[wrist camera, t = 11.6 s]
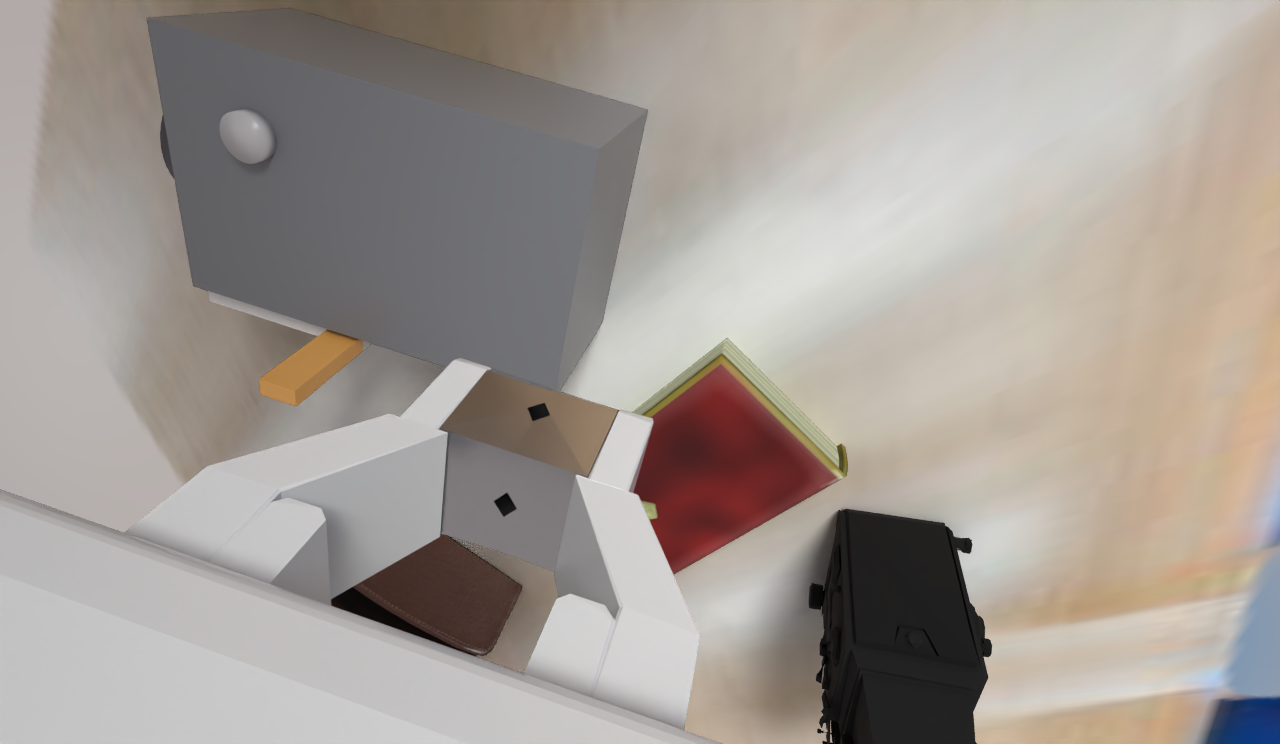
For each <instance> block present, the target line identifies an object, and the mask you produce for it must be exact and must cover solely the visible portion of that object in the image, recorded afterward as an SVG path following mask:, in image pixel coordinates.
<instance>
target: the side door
mask: <svg viewBox="0 0 1280 744" xmlns="http://www.w3.org/2000/svg"><path fill="white" fill-rule="evenodd" d="M208 295H209V301H210V302H213V303H216V304H219V305H222V306H225V307H228V308H232V309H235V310H238V311H241V312H244V313H247V314H250V315H253V316H256V317H259V318H263V319H266V320H269V321H272V322H275V323H278V324H281V325H284V326H287V327H290V328H294V329H297V330H300V331H303V332H306V333H309V334H312V335H315V336H317V337H316V338H315V339H313V340H312V341H310V342H309V343H308V344H306V345H305V346H304V347H302V348H301V349H299V350H298V351H297V352H295V353H294V354H293V355H291V356H290V357H288V358H287V359H286V360H284V361H283V362H282V363H280V364H279V365H277V366H276V367H275V368H273V369H272V370H271V371H269V372H268V373H266V374H265V375H264V376H262V377H261V378H260V379H259V385H260V393H261V395H263V396H266V397H269V398H272V399H275V400H278V401H281V402H284V403H287V404H290V405H293V406H297V405H299V404H300V403H301V402H302V401H303V400H305V399H306V398H307V397H308V396H309V395H311V394H312V393H313V392H314V391H315V390H317V389H318V388H319V387H320V386H321V385H323V384H324V383H325V382H326V381H327V380H329V379H330V378H331V377H332V376H333V375H335V374H336V373H337V372H338V371H339V370H341V369H342V368H343V367H344V366H345V365H347V364H348V363H349V362H350V361H351V360H353V359H354V358H355V357H356V356H357V355H359V354H360V353H361V352H362V351H363V350H365V349H366V348H367V347H368V346H369V345H371V344H372V343H369V342H366V341H363V340H359V339H356V338H353V337H350V336H347V335H344V334H341V333H338V332H335V331H331V330H328V329H325V328H322V327H319V326H316V325H313V324H310V323H306V322H303V321H300V320H297V319H294V318H291V317H288V316H285V315H282V314H278V313H275V312H272V311H269V310H266V309H263V308H260V307H257V306H254V305H250V304H247V303H244V302H241V301H238V300H235V299H232V298H229V297H226V296H222V295H219V294H216V293H213V292H210V291H208Z"/></svg>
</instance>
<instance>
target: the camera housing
mask: <svg viewBox="0 0 1280 744" xmlns="http://www.w3.org/2000/svg"><path fill="white" fill-rule="evenodd" d="M147 23H148V29H149V35H150V41H151V46H152V52H153V58H154V64H155V69H156V75H157V81H158V87H159V92H160V98H161V104H162V110H163V117H162V122H161V131H160V139H161V149H162V153H163V158H164V161H165V163H166V166H167V168H168V170H169V172H170V174H171V175H172V177H173V178H174V179H175V185H176V190H177V196H178V202H179V208H180V213H181V219H182V225H183V231H184V236H185V242H186V248H187V254H188V259H189V265H190V271H191V277H192V282H193V286H194V287H198V288H201V289H204V290H207V291H210V292H213V293H216V294H219V295H222V296H226V297H229V298H232V299H235V300H238V301H241V302H244V303H247V304H250V305H254V306H257V307H260V308H263V309H266V310H269V311H272V312H275V313H278V314H282V315H285V316H288V317H291V318H294V319H297V320H300V321H303V322H306V323H310V324H313V325H316V326H319V327H322V328H325V329H328V330H331V331H335V332H338V333H341V334H344V335H347V336H350V337H353V338H356V339H359V340H363V341H366V342H369V343H372V344H375V345H378V346H381V347H384V348H387V349H391V350H394V351H397V352H400V353H403V354H406V355H409V356H412V357H415V358H419V359H422V360H425V361H428V362H431V363H434V364H437V365H440V366H443V367H447V366H448V365H449V364H450V363H451V362H452V361H453V360H455V359H459V358H462V359H465V360H469V361H472V362H475V363H478V364H481V365H484V366H487V367H489V368H491V369H493V368H494V369H496V370H499V371H502V372H505V373H508V374H511V375H514V376H517V377H520V378H523V379H526V380H529V381H532V382H535V383H537V384H540V385H543V386H546V387H549V388H552V389H555V390H556V391H559V392H560V391H561V389H562V387H563V386H564V384H565V382H566V381H567V379H568V378H569V376H570V374H571V373H572V371H573V369H574V368H575V366H576V365H577V363H578V361H579V360H580V358H581V356H582V355H583V353H584V352H585V350H586V348H587V347H588V345H589V343H590V342H591V340H592V338H593V337H594V335H595V334H596V332H597V330H598V329H599V327H600V325H601V324H602V322H603V318H604V313H605V308H606V304H607V299H608V294H609V290H610V285H611V280H612V276H613V271H614V266H615V262H616V257H617V252H618V248H619V243H620V238H621V234H622V229H623V224H624V220H625V215H626V210H627V206H628V201H629V196H630V192H631V187H632V182H633V178H634V173H635V168H636V164H637V159H638V154H639V150H640V145H641V140H642V136H643V131H644V126H645V122H646V117H647V112H648V110H647V109H644V108H640V107H637V106H633V105H630V104H626V103H623V102H619V101H616V100H612V99H608V98H605V97H601V96H598V95H594V94H591V93H587V92H584V91H580V90H577V89H573V88H570V87H566V86H563V85H559V84H556V83H552V82H549V81H545V80H542V79H538V78H535V77H531V76H527V75H524V74H520V73H517V72H513V71H510V70H506V69H503V68H499V67H496V66H492V65H489V64H485V63H482V62H478V61H475V60H471V59H468V58H464V57H461V56H457V55H454V54H450V53H446V52H443V51H439V50H436V49H432V48H429V47H425V46H422V45H418V44H415V43H411V42H408V41H404V40H401V39H397V38H394V37H390V36H387V35H383V34H380V33H376V32H372V31H369V30H365V29H362V28H358V27H355V26H351V25H348V24H344V23H341V22H337V21H334V20H330V19H327V18H323V17H320V16H316V15H313V14H309V13H306V12H302V11H299V10H295V9H291V8H287V9H271V10H256V11H241V12H225V13H210V14H194V15H179V16H164V17H148V18H147Z"/></svg>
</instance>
